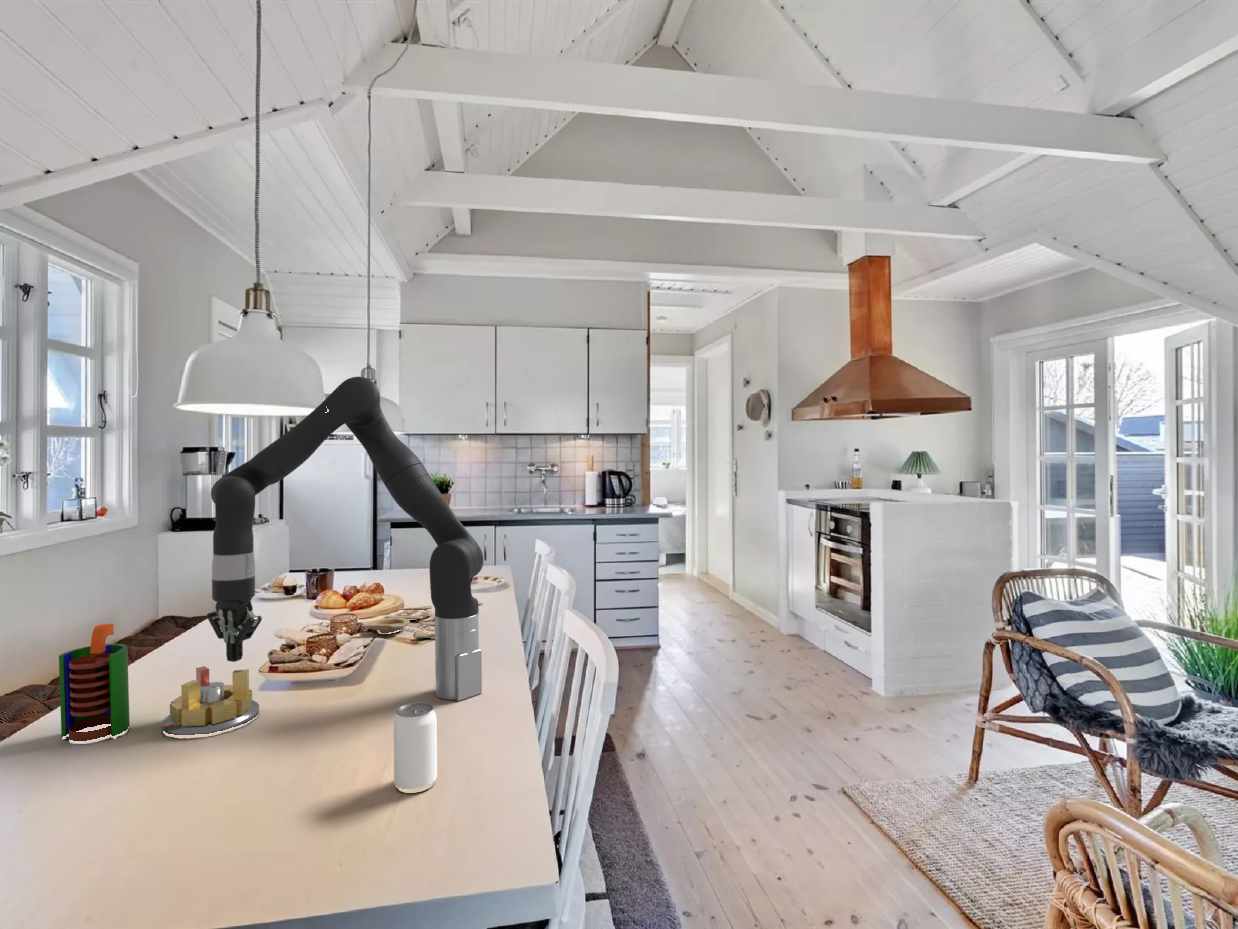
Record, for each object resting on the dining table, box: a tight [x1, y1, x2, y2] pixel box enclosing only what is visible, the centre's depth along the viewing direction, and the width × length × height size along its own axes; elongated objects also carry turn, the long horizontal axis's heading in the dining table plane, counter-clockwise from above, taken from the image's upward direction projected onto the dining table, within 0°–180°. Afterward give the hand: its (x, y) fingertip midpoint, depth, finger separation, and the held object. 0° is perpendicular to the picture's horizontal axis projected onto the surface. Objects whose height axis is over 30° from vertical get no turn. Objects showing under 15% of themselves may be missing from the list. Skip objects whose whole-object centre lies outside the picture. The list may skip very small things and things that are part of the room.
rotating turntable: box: [162, 681, 260, 735], centre depth 129 cm, size 16×16×7 cm
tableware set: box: [361, 602, 484, 640], centre depth 200 cm, size 35×29×4 cm
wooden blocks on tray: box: [169, 665, 253, 726], centre depth 129 cm, size 13×13×8 cm
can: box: [393, 701, 438, 789], centre depth 104 cm, size 6×6×12 cm
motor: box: [58, 623, 131, 741], centre depth 123 cm, size 10×9×20 cm
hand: (234, 660), depth 134 cm, fingers closed
